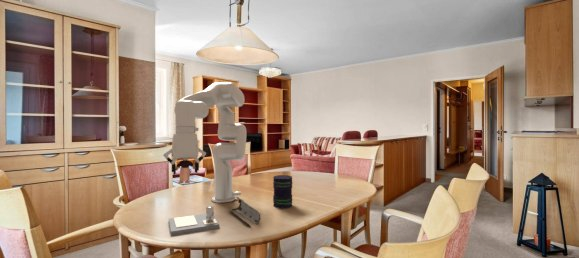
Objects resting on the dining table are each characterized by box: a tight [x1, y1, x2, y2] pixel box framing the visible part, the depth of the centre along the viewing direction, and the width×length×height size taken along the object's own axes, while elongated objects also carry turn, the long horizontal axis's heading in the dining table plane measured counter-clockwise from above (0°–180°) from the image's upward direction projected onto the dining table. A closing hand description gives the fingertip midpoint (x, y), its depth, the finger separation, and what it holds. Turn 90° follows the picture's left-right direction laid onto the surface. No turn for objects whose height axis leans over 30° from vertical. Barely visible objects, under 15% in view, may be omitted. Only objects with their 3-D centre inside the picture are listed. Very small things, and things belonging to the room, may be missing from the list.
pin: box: [205, 205, 215, 223], centre depth 116 cm, size 3×3×6 cm
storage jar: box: [272, 174, 293, 210], centre depth 145 cm, size 10×10×15 cm
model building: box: [227, 196, 261, 227], centre depth 127 cm, size 7×7×25 cm
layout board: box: [168, 213, 220, 236], centre depth 117 cm, size 18×16×2 cm
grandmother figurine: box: [176, 158, 195, 184], centre depth 116 cm, size 8×4×13 cm, turn 117°
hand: (185, 172), depth 116 cm, fingers closed on grandmother figurine, 7 cm apart
